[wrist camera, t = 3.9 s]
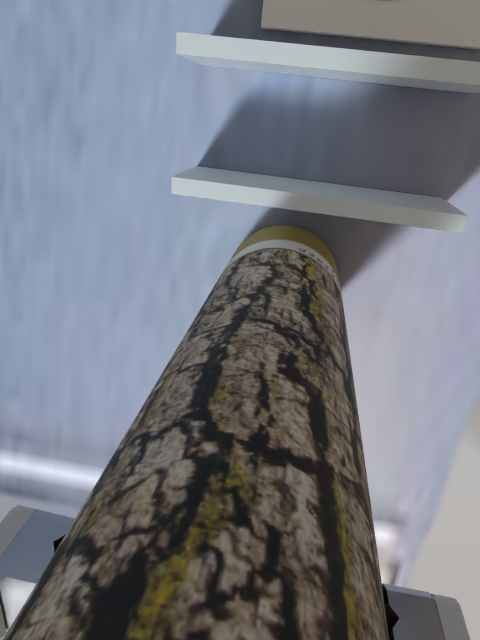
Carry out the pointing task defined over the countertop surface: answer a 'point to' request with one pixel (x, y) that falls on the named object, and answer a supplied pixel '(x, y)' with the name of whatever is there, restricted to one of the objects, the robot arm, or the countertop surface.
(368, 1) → the resting pad
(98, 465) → the countertop surface
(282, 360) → the wooden log
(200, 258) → the countertop surface
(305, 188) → the low walls
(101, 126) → the countertop surface
